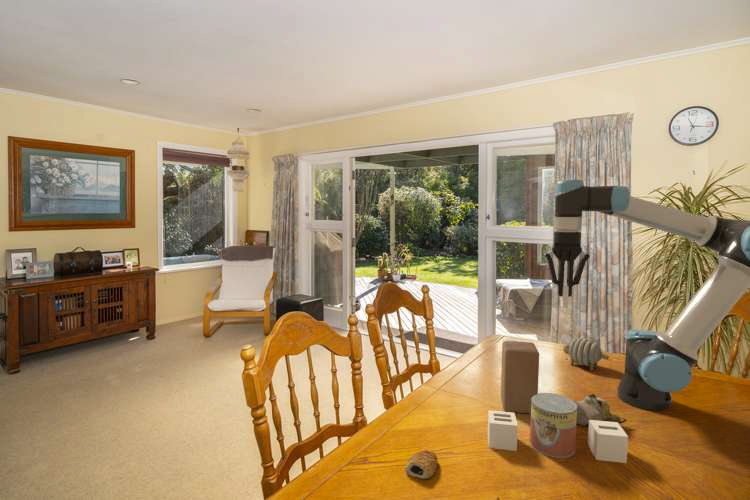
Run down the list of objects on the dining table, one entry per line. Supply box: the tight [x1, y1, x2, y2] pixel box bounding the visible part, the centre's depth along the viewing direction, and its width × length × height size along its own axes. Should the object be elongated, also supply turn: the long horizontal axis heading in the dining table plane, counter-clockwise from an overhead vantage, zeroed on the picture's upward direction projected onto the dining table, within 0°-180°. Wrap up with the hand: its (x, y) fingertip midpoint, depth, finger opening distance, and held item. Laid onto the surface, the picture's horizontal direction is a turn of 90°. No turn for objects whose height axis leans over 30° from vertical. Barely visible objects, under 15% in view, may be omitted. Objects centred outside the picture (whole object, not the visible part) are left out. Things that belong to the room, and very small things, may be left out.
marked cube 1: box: [487, 409, 519, 452], centre depth 112 cm, size 7×7×7 cm
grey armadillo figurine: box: [562, 338, 610, 371], centre depth 165 cm, size 11×17×11 cm, turn 48°
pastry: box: [404, 449, 438, 480], centre depth 102 cm, size 9×7×4 cm
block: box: [500, 340, 540, 415], centre depth 132 cm, size 10×10×20 cm
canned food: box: [529, 392, 578, 459], centre depth 111 cm, size 11×11×12 cm
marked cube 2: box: [587, 420, 629, 464], centre depth 107 cm, size 7×7×7 cm
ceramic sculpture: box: [572, 394, 628, 427], centre depth 123 cm, size 11×9×15 cm
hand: (564, 306), depth 130 cm, fingers closed
